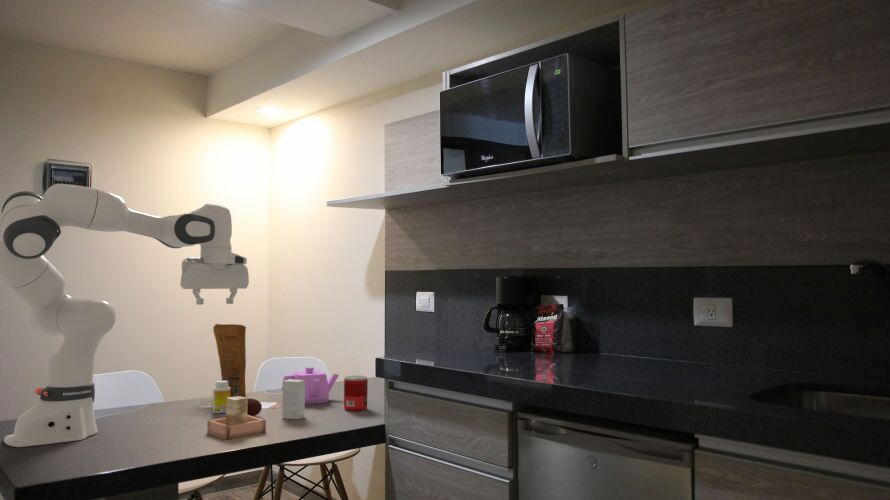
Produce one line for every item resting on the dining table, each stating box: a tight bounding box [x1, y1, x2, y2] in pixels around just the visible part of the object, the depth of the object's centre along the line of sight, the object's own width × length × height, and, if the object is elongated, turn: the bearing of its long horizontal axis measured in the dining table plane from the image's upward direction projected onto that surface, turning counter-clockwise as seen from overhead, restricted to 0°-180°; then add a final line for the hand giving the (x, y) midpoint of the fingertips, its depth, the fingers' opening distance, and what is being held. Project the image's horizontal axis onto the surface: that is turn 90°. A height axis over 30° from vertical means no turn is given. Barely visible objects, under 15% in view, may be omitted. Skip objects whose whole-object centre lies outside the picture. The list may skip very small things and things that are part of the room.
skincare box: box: [281, 379, 306, 420], centre depth 209 cm, size 6×4×12 cm
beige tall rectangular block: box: [225, 396, 249, 425], centre depth 188 cm, size 4×5×9 cm
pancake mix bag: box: [212, 323, 247, 398], centre depth 242 cm, size 7×19×28 cm, turn 48°
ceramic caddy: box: [206, 415, 267, 440], centre depth 188 cm, size 12×11×4 cm
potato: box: [247, 398, 263, 417], centre depth 209 cm, size 7×8×6 cm
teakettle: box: [281, 366, 339, 405], centre depth 239 cm, size 17×17×12 cm
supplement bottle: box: [212, 380, 230, 414], centre depth 218 cm, size 6×6×10 cm
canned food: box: [343, 375, 369, 412], centre depth 223 cm, size 8×8×11 cm
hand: (215, 304), depth 194 cm, fingers open, 8 cm apart
